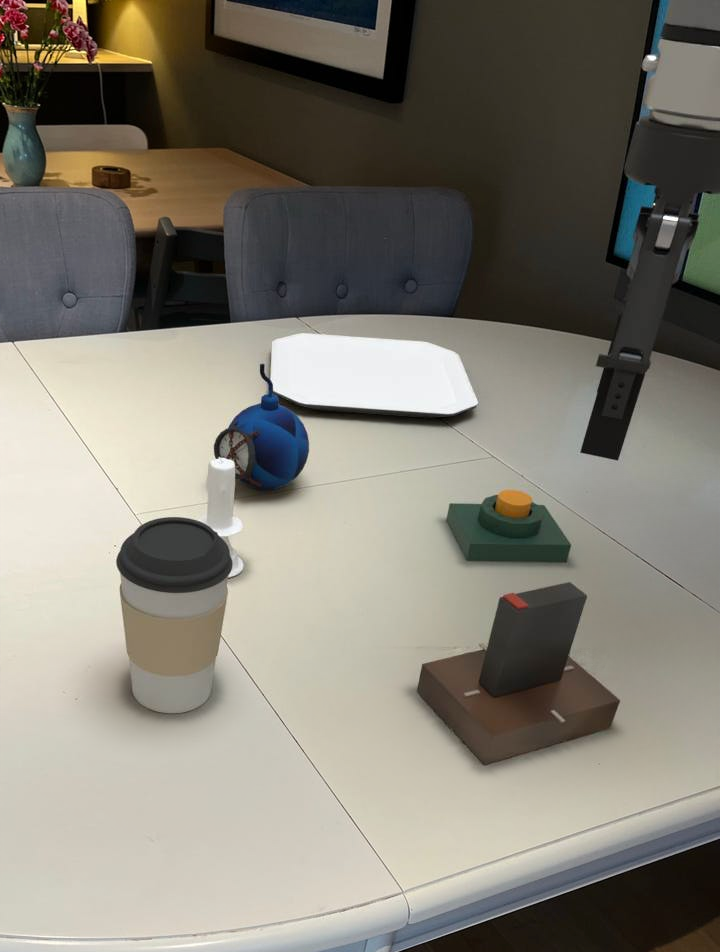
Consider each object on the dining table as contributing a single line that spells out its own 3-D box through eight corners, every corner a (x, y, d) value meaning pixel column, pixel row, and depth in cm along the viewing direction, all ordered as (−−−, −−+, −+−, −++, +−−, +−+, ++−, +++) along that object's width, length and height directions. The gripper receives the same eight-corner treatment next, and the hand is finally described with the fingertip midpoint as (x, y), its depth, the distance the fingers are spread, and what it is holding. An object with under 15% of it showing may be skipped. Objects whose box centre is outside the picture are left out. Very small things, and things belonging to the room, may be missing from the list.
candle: (187, 576, 99) (190, 466, 92) (196, 549, 103) (200, 443, 96) (239, 582, 98) (247, 472, 92) (246, 555, 103) (254, 449, 96)
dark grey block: (544, 665, 85) (570, 578, 80) (561, 680, 83) (588, 592, 78) (477, 682, 82) (500, 594, 77) (493, 698, 81) (517, 609, 76)
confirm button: (522, 504, 108) (526, 489, 107) (533, 520, 105) (536, 505, 104) (490, 503, 108) (494, 489, 107) (500, 519, 105) (503, 504, 104)
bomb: (197, 484, 115) (202, 359, 107) (262, 459, 122) (271, 339, 113) (258, 516, 110) (267, 386, 101) (321, 488, 117) (336, 364, 108)
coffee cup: (106, 712, 81) (101, 555, 72) (133, 649, 88) (132, 499, 80) (214, 728, 80) (223, 571, 71) (232, 663, 87) (242, 513, 79)
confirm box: (539, 521, 113) (548, 490, 111) (566, 562, 106) (576, 529, 103) (445, 520, 112) (452, 488, 110) (466, 561, 105) (473, 528, 102)
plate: (271, 343, 157) (272, 330, 156) (452, 356, 157) (454, 342, 156) (268, 415, 133) (269, 399, 132) (481, 430, 134) (484, 414, 132)
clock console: (532, 657, 91) (540, 629, 89) (615, 732, 83) (626, 703, 81) (412, 687, 86) (418, 658, 84) (488, 769, 78) (496, 739, 76)
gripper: (648, 95, 76) (575, 364, 88) (626, 135, 56) (537, 473, 69) (752, 107, 74) (662, 381, 86) (766, 153, 54) (648, 498, 67)
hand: (606, 422), depth 77 cm, fingers open, 13 cm apart
